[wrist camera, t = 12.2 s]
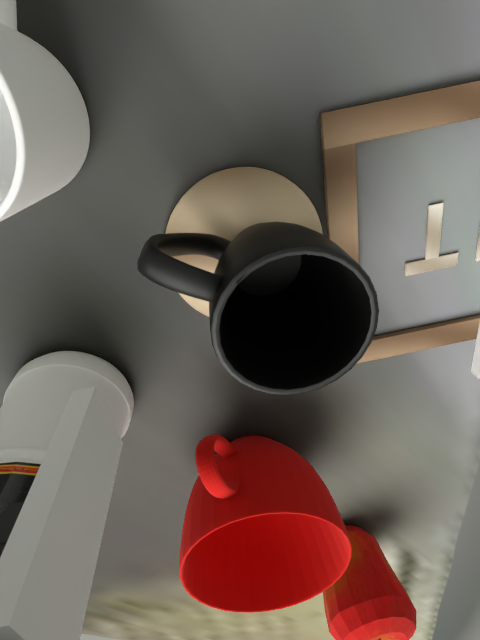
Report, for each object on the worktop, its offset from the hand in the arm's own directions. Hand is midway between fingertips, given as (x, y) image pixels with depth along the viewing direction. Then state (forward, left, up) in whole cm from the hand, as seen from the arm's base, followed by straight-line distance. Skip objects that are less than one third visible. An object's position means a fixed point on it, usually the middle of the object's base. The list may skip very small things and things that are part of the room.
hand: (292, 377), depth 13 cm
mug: (0, 0, -15) cm, 15 cm away
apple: (+37, +5, -15) cm, 41 cm away
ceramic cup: (+19, -4, -15) cm, 25 cm away
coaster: (0, 0, -15) cm, 15 cm away
